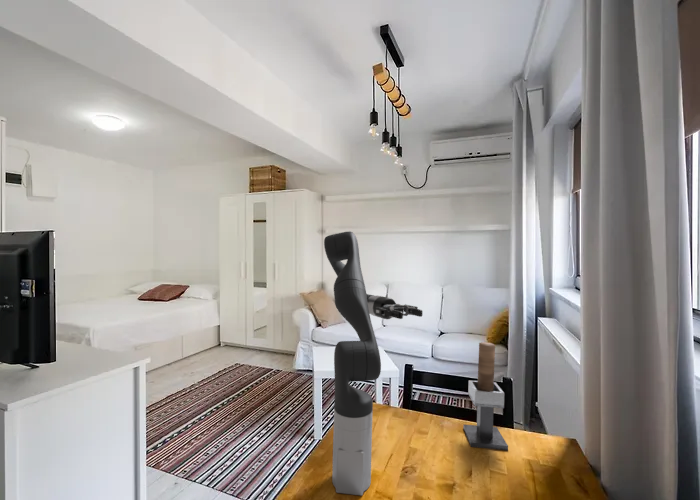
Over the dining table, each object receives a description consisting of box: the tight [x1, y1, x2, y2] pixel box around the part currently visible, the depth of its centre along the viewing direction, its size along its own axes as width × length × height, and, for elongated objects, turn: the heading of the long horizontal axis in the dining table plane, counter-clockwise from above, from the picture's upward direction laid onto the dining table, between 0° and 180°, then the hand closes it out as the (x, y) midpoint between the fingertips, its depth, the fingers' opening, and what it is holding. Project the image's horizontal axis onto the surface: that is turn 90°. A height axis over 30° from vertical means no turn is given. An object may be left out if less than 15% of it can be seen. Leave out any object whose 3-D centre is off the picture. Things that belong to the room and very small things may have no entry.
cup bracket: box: [462, 380, 509, 451], centre depth 98 cm, size 10×10×16 cm
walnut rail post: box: [477, 341, 496, 391], centre depth 98 cm, size 4×4×16 cm
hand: (412, 314), depth 105 cm, fingers open, 8 cm apart
